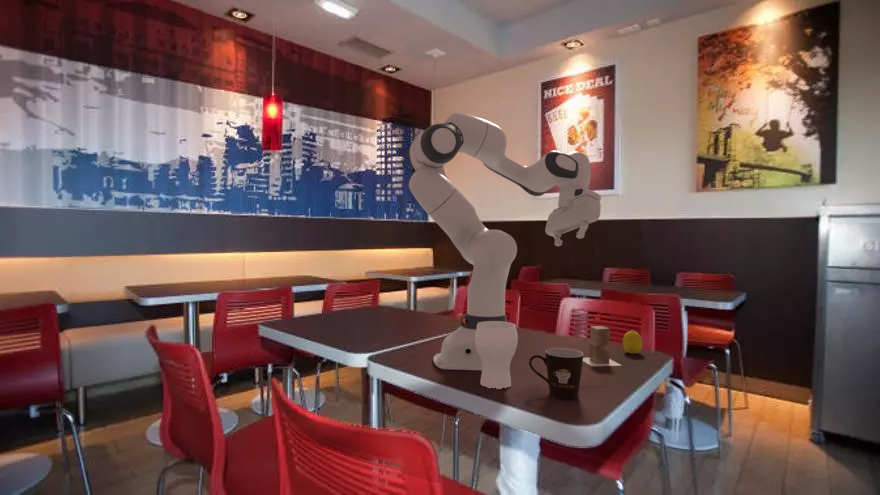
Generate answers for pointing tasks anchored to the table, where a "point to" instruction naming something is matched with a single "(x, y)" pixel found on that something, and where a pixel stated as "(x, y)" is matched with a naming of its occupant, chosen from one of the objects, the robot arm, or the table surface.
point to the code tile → (591, 363)
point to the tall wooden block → (599, 344)
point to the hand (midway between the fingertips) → (568, 241)
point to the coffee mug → (562, 372)
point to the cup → (496, 352)
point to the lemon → (632, 342)
